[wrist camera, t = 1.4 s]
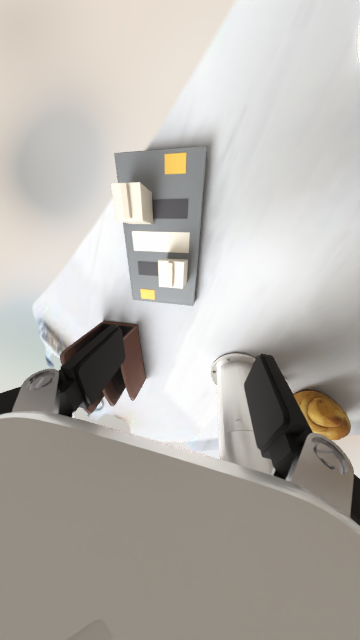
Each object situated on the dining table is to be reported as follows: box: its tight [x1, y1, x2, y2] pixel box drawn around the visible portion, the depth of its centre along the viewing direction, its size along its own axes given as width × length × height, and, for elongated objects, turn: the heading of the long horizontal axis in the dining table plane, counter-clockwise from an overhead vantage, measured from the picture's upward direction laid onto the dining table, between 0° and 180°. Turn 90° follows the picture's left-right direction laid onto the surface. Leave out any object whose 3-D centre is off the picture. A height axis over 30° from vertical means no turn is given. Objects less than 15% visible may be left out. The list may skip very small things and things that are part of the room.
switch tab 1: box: [111, 182, 153, 224], centre depth 21 cm, size 4×4×5 cm
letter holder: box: [60, 321, 145, 414], centre depth 36 cm, size 10×20×14 cm, turn 0°
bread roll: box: [294, 390, 351, 440], centre depth 33 cm, size 13×10×8 cm
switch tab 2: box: [158, 258, 188, 289], centre depth 24 cm, size 4×4×5 cm
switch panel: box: [115, 146, 207, 306], centre depth 26 cm, size 13×22×2 cm, turn 179°
